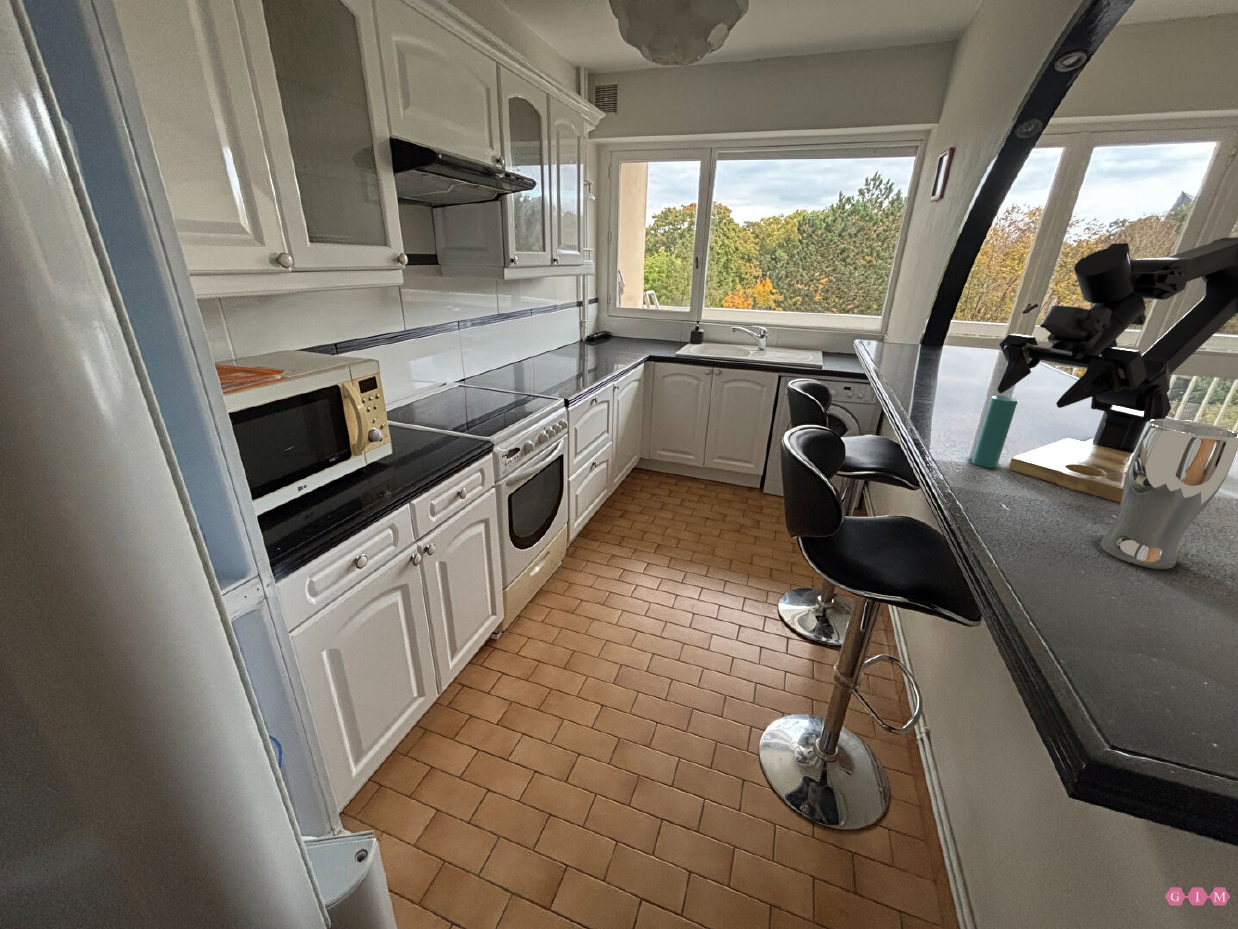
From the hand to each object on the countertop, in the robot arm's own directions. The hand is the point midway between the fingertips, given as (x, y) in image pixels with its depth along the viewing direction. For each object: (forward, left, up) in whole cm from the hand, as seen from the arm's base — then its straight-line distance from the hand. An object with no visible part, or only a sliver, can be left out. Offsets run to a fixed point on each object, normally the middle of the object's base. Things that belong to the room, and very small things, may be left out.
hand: (1026, 398), depth 80 cm
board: (-6, +9, -11) cm, 15 cm away
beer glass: (+20, +22, -11) cm, 31 cm away
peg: (+5, -1, -11) cm, 12 cm away
